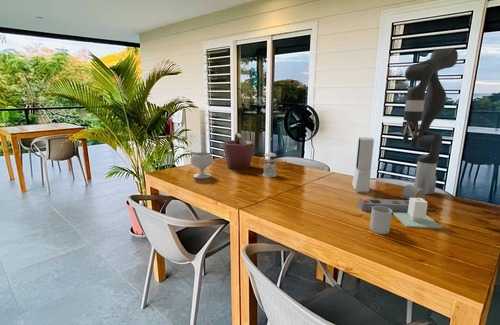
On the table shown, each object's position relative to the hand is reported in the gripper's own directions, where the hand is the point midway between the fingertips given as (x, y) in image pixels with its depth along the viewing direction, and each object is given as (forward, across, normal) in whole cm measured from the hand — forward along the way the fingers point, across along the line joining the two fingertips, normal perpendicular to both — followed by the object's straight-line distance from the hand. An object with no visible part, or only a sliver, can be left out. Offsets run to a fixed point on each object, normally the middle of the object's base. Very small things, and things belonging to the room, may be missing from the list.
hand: (409, 145), depth 134 cm
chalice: (+29, +37, +110) cm, 120 cm away
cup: (+29, -30, +21) cm, 47 cm away
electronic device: (+30, +20, +14) cm, 39 cm away
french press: (+30, +46, +67) cm, 86 cm away
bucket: (+30, +65, +90) cm, 115 cm away
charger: (+29, -20, +3) cm, 35 cm away
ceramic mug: (+30, +6, -9) cm, 32 cm away
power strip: (+29, -8, +5) cm, 31 cm away
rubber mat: (+29, -20, +3) cm, 36 cm away
